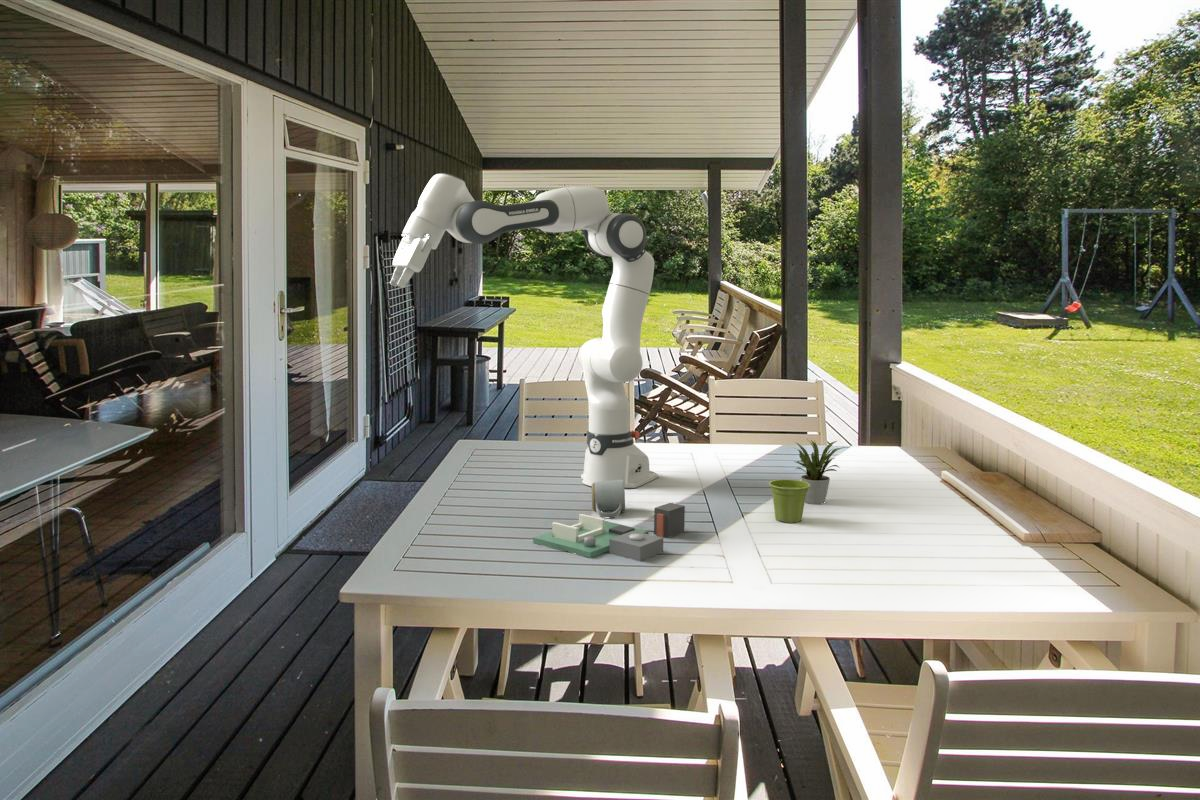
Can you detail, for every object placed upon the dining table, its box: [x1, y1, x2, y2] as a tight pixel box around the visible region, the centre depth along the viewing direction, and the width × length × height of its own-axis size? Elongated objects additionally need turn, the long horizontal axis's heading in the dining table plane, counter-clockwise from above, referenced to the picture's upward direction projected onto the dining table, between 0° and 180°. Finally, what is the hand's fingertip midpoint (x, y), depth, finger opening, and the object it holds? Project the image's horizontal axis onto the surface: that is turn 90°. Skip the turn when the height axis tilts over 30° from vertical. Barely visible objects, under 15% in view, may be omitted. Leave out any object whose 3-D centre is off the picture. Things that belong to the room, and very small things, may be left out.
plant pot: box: [768, 478, 810, 524], centre depth 224 cm, size 9×9×9 cm
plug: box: [653, 502, 686, 538], centre depth 213 cm, size 7×4×6 cm, turn 140°
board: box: [532, 513, 650, 559], centre depth 208 cm, size 20×16×4 cm
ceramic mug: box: [591, 480, 626, 518], centre depth 230 cm, size 11×8×8 cm
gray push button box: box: [608, 531, 664, 562], centre depth 199 cm, size 8×8×4 cm
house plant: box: [793, 438, 851, 505], centre depth 240 cm, size 14×14×16 cm
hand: (396, 286), depth 230 cm, fingers open, 8 cm apart
